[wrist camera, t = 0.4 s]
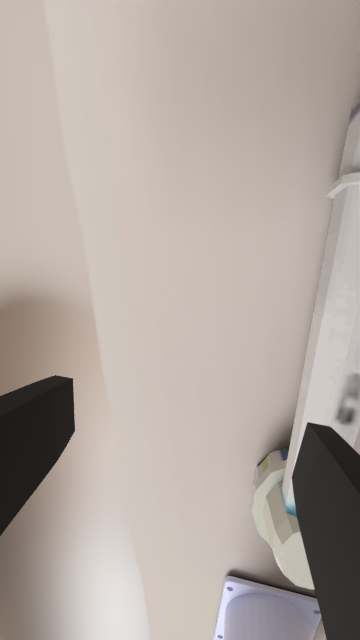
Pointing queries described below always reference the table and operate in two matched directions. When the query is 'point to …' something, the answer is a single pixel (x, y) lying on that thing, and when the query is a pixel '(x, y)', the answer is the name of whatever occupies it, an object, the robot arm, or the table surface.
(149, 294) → the table surface
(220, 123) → the table surface
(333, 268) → the white tube
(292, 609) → the robot arm
